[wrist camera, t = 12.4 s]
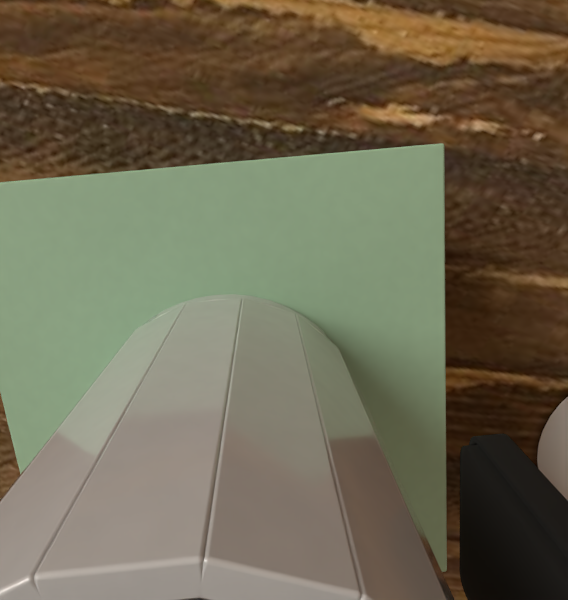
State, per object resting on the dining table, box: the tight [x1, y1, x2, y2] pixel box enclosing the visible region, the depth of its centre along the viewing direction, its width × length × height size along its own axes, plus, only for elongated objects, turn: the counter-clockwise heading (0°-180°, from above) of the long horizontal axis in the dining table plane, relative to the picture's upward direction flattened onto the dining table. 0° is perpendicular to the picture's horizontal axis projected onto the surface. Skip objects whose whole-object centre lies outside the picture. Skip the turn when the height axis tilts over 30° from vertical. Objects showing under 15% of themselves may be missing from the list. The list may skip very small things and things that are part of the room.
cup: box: [0, 294, 454, 600], centre depth 9 cm, size 7×7×9 cm
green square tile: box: [0, 143, 447, 572], centre depth 14 cm, size 12×12×1 cm
